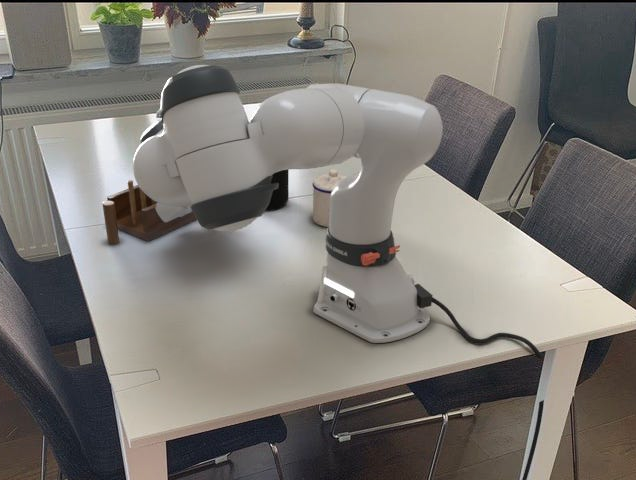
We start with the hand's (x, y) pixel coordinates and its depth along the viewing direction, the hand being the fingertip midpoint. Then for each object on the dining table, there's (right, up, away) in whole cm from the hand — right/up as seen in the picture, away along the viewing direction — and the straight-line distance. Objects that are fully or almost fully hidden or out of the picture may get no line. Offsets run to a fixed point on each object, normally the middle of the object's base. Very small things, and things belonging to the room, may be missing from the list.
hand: (182, 212), depth 164 cm
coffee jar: (+17, +5, +17) cm, 25 cm away
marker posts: (-7, -1, +7) cm, 10 cm away
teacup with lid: (+32, +1, +11) cm, 34 cm away
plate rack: (-7, -1, +7) cm, 10 cm away
